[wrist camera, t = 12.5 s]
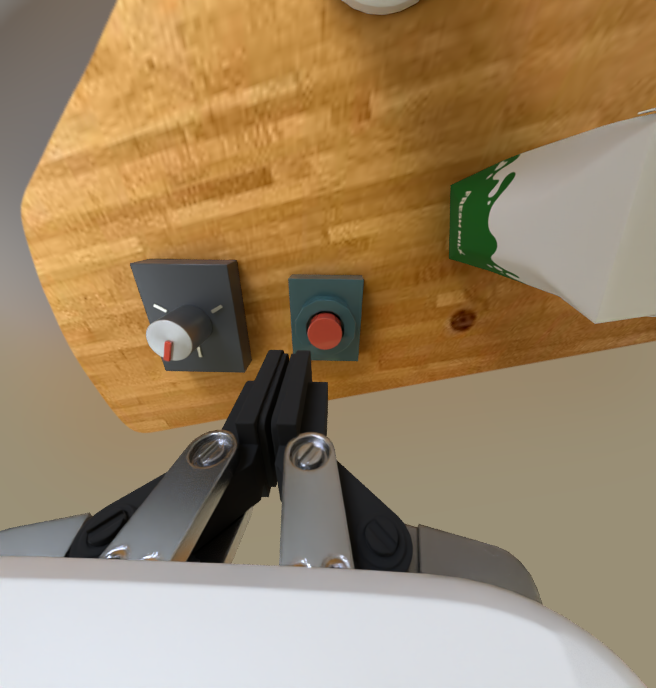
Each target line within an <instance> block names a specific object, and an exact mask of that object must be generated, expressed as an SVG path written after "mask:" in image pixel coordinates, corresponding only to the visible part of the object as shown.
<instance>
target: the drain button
mask: <svg viewBox="0 0 656 688" xmlns="http://www.w3.org/2000/svg"><path fill="white" fill-rule="evenodd" d="M341 338H342V325H341V322H340V320H339V319H338V318H337V317H336V316H335V315H333V314H330V313H320V314H317V315H316V316H314V317H313V318H312V320H311V321H310V324H309V328H308V339H309V341H310V342H311V344H312V345H313V346H315V347H316V348H319V349H323V350H327V349H331V348H334V347H335V346H337V345H338V344H339V342H340V341H341Z"/></svg>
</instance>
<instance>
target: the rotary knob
mask: <svg viewBox="0 0 656 688" xmlns="http://www.w3.org/2000/svg"><path fill="white" fill-rule="evenodd" d="M211 332H212V324H211V321H210V319H209V317H208V316H207V314H206V313H205V312H204V311H202V310H201V309H199V308H197V307H195V306H191V305H184V306H180V307H178V308H177V309H175V310H173V311H172V312H170V313H168V314H166V315H165V316H163V317H161V318H160V319H158V320H156V321H154V322H153V323H151V324H150V325H149V327H148V328H147V331H146V338H147V341H148V344H149V345H150V347H151V348H152V350H153V351H154V352H156V353H157V354H158V355H159V356H161V357H163V360H165V361H170V360H174V361H178V360H183V359H185V358H187V357H188V356H189V355H190V354H191V353H192V352H193V351H194V350H196V349H197V348H198V347H199V346H200V345H201V344H202V343H203V342H204V341H205V340H206V339H207V338H208V337H209V336H210V334H211Z"/></svg>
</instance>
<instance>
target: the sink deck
mask: <svg viewBox="0 0 656 688" xmlns="http://www.w3.org/2000/svg"><path fill="white" fill-rule="evenodd" d="M130 266H131V269H132V272H133V275H134V278H135V281H136V284H137V287H138V290H139V293H140V296H141V299H142V302H143V305H144V307H145V310H146V313H147V316H148V319H149V322H150V324H151V323H153V322H154V321H156V320H158V319H160V318H161V317H163V316H165V315H166V314H168V313H170V312H172V311H173V310H175V309H177V308H178V307H180V306H184V305H191V306H195V307H197V308H199V309H201V310H202V311H204V312H205V313H206V314H207V316H208V317H209V319H210V321H211V324H212V332H211V334H210V336H209V337H208V338H207V339H206V340H205V341H204V342H203V343H202V344H201V345H200V346H199V347H198V348H197V349H196V350H194V351H193V352H192V353H191V354H190V355H189V356H188V357H187V358H185V359H183V360H178V361H174V360H170V361H165V360H163V357H161V358H162V361H163V364H164V367H165V370H166V371H198V372H245V371H246V370H247V368H248V366H249V364H250V363H251V361H252V358H251V351H250V345H249V338H248V331H247V325H246V318H245V311H244V305H243V298H242V291H241V285H240V278H239V271H238V265H237V260H191V259H147V260H142V261H138V262H134V263H130Z"/></svg>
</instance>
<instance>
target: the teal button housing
mask: <svg viewBox="0 0 656 688" xmlns="http://www.w3.org/2000/svg"><path fill="white" fill-rule="evenodd" d="M288 281H289V296H290V312H291V328H292V344H293V354H296V351H297V350H310V351H311V360H327V361H358V355H359V341H360V327H361V313H362V299H363V285H364V279H363V277H362V275H295V274H292V275H291V276H290V277H289V279H288ZM320 313H330V314H333V315H335V316H336V317H337V318H338V319H339V320H340V322H341V325H342V338H341V341H340V342H339V344H338V345H337V346H335V347H334V348H331V349H327V350H323V349H319V348H316V347H315V346H313V345H312V344H311V342H310V341H309V339H308V328H309V324H310V321H311V320H312V318H313V317H314V316H316V315H317V314H320Z"/></svg>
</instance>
